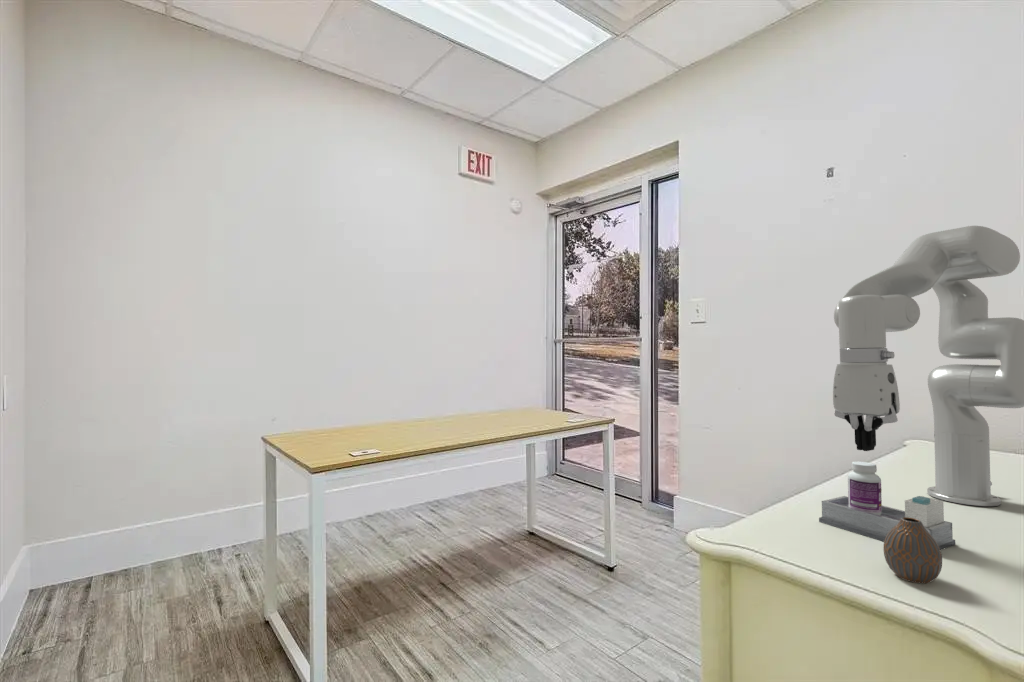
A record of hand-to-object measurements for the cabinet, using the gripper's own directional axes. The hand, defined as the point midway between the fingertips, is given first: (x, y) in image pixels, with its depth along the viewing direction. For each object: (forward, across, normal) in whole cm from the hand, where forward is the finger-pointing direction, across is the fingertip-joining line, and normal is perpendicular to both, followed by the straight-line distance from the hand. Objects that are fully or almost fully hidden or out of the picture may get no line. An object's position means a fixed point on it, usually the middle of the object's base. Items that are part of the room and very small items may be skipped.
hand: (865, 449), depth 95 cm
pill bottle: (+13, 0, +1) cm, 13 cm away
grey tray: (+15, -3, +1) cm, 16 cm away
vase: (+15, -15, +18) cm, 28 cm away
